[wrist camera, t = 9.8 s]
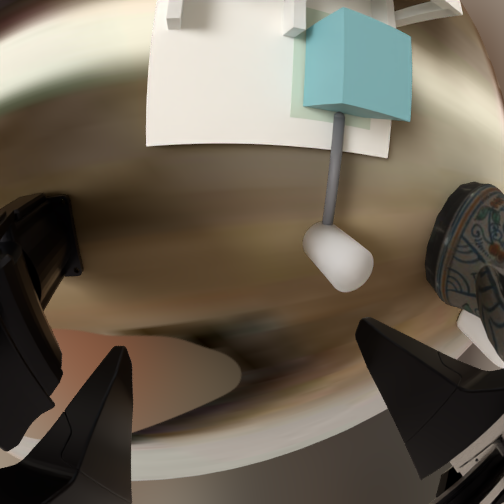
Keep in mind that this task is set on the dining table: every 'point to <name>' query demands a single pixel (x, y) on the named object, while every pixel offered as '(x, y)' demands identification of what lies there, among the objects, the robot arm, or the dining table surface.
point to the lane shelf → (254, 73)
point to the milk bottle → (478, 335)
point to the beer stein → (471, 256)
